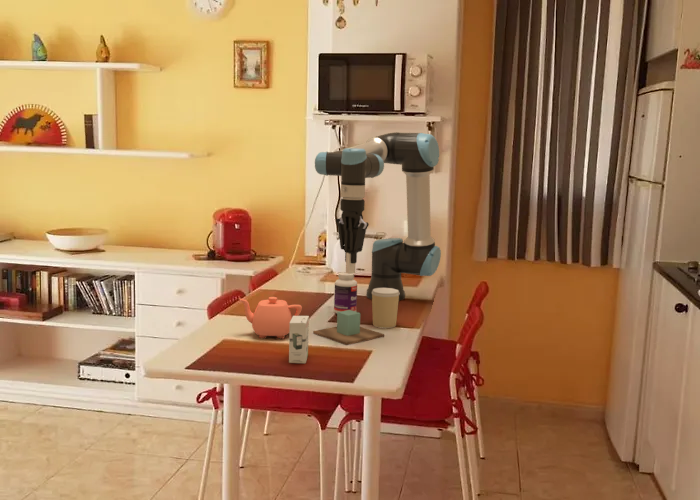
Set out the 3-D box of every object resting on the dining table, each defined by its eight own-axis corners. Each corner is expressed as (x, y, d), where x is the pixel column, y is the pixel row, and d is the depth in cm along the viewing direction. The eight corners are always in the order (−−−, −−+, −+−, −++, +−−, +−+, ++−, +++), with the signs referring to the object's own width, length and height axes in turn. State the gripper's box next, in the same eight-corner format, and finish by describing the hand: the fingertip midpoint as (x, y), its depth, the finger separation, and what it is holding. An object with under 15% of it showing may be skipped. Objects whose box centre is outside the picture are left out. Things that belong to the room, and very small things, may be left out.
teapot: (240, 328, 246) (241, 291, 244) (302, 329, 246) (303, 293, 244) (235, 340, 232) (235, 301, 230) (300, 341, 233) (301, 303, 231)
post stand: (350, 325, 253) (350, 309, 252) (383, 336, 241) (384, 318, 240) (313, 333, 242) (313, 315, 241) (346, 345, 230) (346, 326, 229)
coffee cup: (401, 323, 258) (402, 289, 256) (393, 330, 249) (395, 294, 247) (375, 320, 261) (376, 286, 259) (366, 327, 252) (368, 291, 250)
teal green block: (348, 329, 245) (349, 309, 244) (359, 333, 241) (360, 313, 240) (336, 332, 241) (337, 312, 240) (347, 335, 238) (348, 315, 237)
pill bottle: (353, 316, 265) (355, 276, 262) (331, 315, 266) (332, 275, 264) (358, 311, 273) (359, 272, 270) (336, 309, 274) (337, 270, 272)
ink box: (291, 353, 220) (292, 314, 218) (308, 354, 220) (309, 315, 218) (288, 363, 211) (288, 322, 210) (305, 363, 211) (306, 322, 209)
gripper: (329, 197, 237) (328, 270, 241) (357, 200, 227) (355, 277, 231) (347, 196, 242) (345, 268, 246) (375, 199, 232) (373, 275, 236)
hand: (350, 272), depth 238 cm, fingers closed
